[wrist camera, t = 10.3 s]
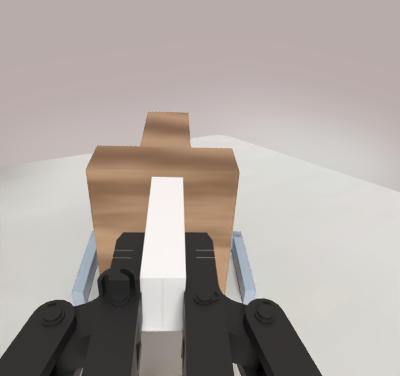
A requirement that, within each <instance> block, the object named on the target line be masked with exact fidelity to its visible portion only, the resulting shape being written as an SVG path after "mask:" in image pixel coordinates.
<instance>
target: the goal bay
mask: <svg viewBox="0 0 400 376" xmlns="http://www.w3.org/2000/svg"><path fill="white" fill-rule="evenodd" d="M230 250H232V253H233V258H234V263H235V268H236V272H237V277H238V282H239V287H240V292H241V297H242V302H243V304H246V305H248V304H249V302H250V301H252V300H254V298H255V293H256V289H255V285H254V281H253V277H252V273H251V269H250V265H249V261H248V257H247V253H246V249H245V245H244V242H243V238H242V234H241V232H236V231H232V239H231V248H230ZM97 264H98V257H97V250H96V242H95V235H94V231H92V233H91V236H90V239H89V242H88V245H87V248H86V251H85V254H84V257H83V260H82V263H81V266H80V269H79V272H78V275H77V278H76V281H75V284H74V287H73V290H72V296H73V301H74V306H77V305H81V304H85V303H87V300H88V297H89V293H90V290H91V286H92V282H93V279H94V275H95V271H96V268H97Z"/></svg>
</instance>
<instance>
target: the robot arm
mask: <svg viewBox="0 0 400 376" xmlns="http://www.w3.org/2000/svg"><path fill="white" fill-rule="evenodd" d="M97 282H98V289H99V297H98V298H96V299H94V300H93V301H90V302H88V303H85V304H81V305H77V306H74V307H73V306H72V304H71V303H70V302H67V301H65V300H53V301H49V302H46V303H45V304H43V305H41V306H39V307H38V308H37V309H36V310H35V311H34V313H33V314H32V315H31V317H30V318H29V319H28V321H27V322H26V324H25V325H24V326H23V328H22V329H21V331H20V332H19V333H18V335H17V336H16V338H15V339H14V340H13V342H12V343H11V345H10V346H9V347H8V349H7V350H6V351H5V353H4V354H3V356H2V357H1V358H0V376H79V375H80V373H81V371H82V368H83V372H82V376H139V367H140V356H141V332H142V331H183V339H182V356H181V358H182V376H234V372H233V364H232V363H235V364H237V367H238V369H239V372H240V374H241V376H322V375H321V373H320V371H319V370H318V368H317V366H316V365H315V363H314V361H313V360H312V358H311V356H310V355H309V353H308V351H307V350H306V348H305V346H304V345H303V343H302V341H301V340H300V338H299V336H298V335H297V333H296V331H295V330H294V328H293V326H292V325H291V323H290V321H289V320H288V318H287V316H286V315H285V313H284V311H283V310H282V309H281V307H280V306H279V305H278V304H276V303H275V302H273V301H271V300H268V299H264V298H263V299H255V300H252V301H250V302H249V304H248V305H246V304H242V303H239V302H236V301H233V300H231V299H229V298H228V297H226V296H225V295H224V294H223V293H222V291H221V290H220V287H219V283H218V276H217V268H216V261H215V253H214V246H213V240H212V239H211V237H210V236H209V235H208V233H207V232H185V229H184V195H183V178H182V177H152V180H151V189H150V197H149V206H148V214H147V222H146V231H145V232H123V233H122V234H121V235H120V237H119V238H118V239H117V240H116V244H115V249H114V253H113V259H112V262H111V267H110V268H109V269H107V270H105V271H104V272H103V273H102V274H100V276H99V278H98V280H97Z"/></svg>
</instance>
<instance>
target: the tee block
mask: <svg viewBox="0 0 400 376" xmlns="http://www.w3.org/2000/svg"><path fill="white" fill-rule="evenodd" d="M86 175H87V183H88V190H89V198H90V205H91V213H92V220H93V227H94V235H95V242H96V250H97V257H98V265H99V272H100V274H102V273H103V272H104V271H105V270H107V269H109V268H110V267H111V262H112V259H113V253H114V249H115V244H116V240H117V239H118V238H119V237H120V235H121V234H122V233H123V232H145V231H146V222H147V214H148V206H149V197H150V189H151V180H152V177H182V178H183V195H184V229H185V232H207V233H208V235H209V236H210V237H211V239H212V240H213V246H214V253H215V261H216V268H217V276H218V283H219V287H220V290H221V291H222V293H223V294H224V295H225V290H226V281H227V273H228V265H229V256H230V248H231V239H232V231H233V223H234V214H235V206H236V197H237V189H238V180H239V169H238V166H237V163H236V159H235V156H234V153H233V150H232V149H229V148H191V145H190V131H189V117H188V113H174V112H148V114H147V119H146V123H145V127H144V132H143V137H142V141H141V145H140V147H136V146H134V147H133V146H97V147H96V149H95V152H94V153H93V155H92V158H91V160H90V162H89V164H88V166H87V168H86Z"/></svg>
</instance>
